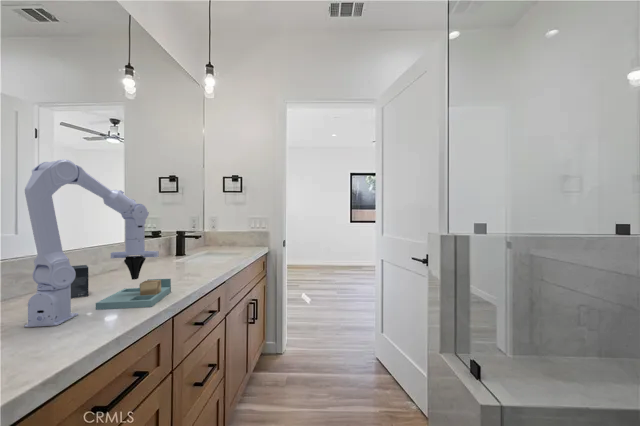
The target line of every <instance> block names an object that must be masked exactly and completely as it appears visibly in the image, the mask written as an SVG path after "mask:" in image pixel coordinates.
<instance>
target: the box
mask: <svg viewBox="0 0 640 426" xmlns="http://www.w3.org/2000/svg"><path fill="white" fill-rule="evenodd" d="M71 266H72V267H73V268H74V270H75V273H76V276H75V279H74V281H73V282H72V283H71V299H77V298H85V297H88V296H89V266H88V265H87V264H82V265H81V264H80V265H71Z"/></svg>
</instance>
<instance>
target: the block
mask: <svg viewBox="0 0 640 426" xmlns="http://www.w3.org/2000/svg"><path fill="white" fill-rule="evenodd" d="M139 288H140V295H157V294H158V293H159V292H161V280H148V279H147V280H144V281H142V282H140V283H139Z"/></svg>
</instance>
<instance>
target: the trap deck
mask: <svg viewBox="0 0 640 426" xmlns="http://www.w3.org/2000/svg"><path fill="white" fill-rule="evenodd" d="M147 280H161V292H159V293H158V294H157V295H140V287H131V288H129V287H128V288H123V289H121V290H119V291H117V292H115V293H113V294H110V295H109V296H107V297H105V298H103V299H101V300H99V301H97V302H95V310H98V311H99V310H115V309H116V310H117V309H134V308H137V309H138V308H152V307H153V306H155V305H156V304H157V303H159V302H160V301H162V300H163V299H164V298H165V297H166V296H168V295H169V294H170V293H171V292H172V281H171V280H172V278H153V279H150V278H149V279H147Z"/></svg>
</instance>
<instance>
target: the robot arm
mask: <svg viewBox="0 0 640 426" xmlns="http://www.w3.org/2000/svg"><path fill="white" fill-rule="evenodd" d="M65 185H77V186H80V187H81V188H83V189H85V190H87V191H89V192H91V193H92V194H94V195H96V196H98V197H100V198H102V201H103V203H104V204H103V205H105V206H107V207H108V208H110V209H112V210H113V211H115V212H117V213H118V214H120V215H121V218H122V219H123V220H124V222H125V227H124V229H125V234H124V235H125V239H124V240H125V243H124V245H125V248H124V249H125V250H124V251H112V252H110V259H123V262H124V264H125V265H126V267H127V269H128V271H129V274H130V277H131V280H134V281H135V280H138V279H139V277H140V272H141V270H142V267H143V265H144V262H145V261H146V258H158V257H159V255H160V253H159V250H145V249H146V248H145V247H146V246H145V243H146V241H145V240H146V239H145V236H146V235H145V232H146V231H145V224H146V220H147V218H148V217H149V214H150V213H149V212H150V211H148V209H147V207H146V205H144V204H142V203H137V202H136V200H135V199H133V198H130V197H128V196H127V195H126V194H125V192H124V191H122V190H117V189H112V190H111V189H110V188H108V187H107V186H106V185H104V184H103V183H101V182H100V181H98V180H97V179H96V178H95V177H93V176H92V175H90V174H89V173H88V172H86V170H85V169H84V168H83V167H82V166H79V165H77V164H75V163H74V162H73V161H71V160H69V159H65V158H64V159H63V158H62V159H58V160H54V161H43V162H41V163H39V164H38V165H36V167H34V168H33V169H31V175H30V177H29V180H28V181H27V183H26V186H25V187H24V195H25V200H26V205H27V208H28V209H27V211H28V214H29V220H30V224H31V229H32V235H33V238H34V243H35V249H36V253H37V254H36V255H37V256H36V257H35V259H34V261H33V264H34V268H33V272H32V279H33V281H34V282H35V283H36V284H37V286H36V292H35V293H34V294H33V295H32V296H30V298H29V300H28V301H27V302H28V303H27V323H26V324H24V326H23V327H24V328H34V327H50V326H59V325H60V324H61V325H62V324H63V323H65V322H67V321H69V320H71V319H72V318H74V317H76V316H78V315H79V313H78V312H72V303H71V300H72V298H71V283H72V282H73V281H74V279H75V276H76V273H75V270H74V268H73V267H72V266H73V265H71V263H70V259H69V258H68V256H67V254H65V252H64V251H63V246H62V240H61V235H60V231H59V226H58V220H57V217H56V215H57V214H56V210H55V205H54V201H53V195H54V194H55V193H56V192H57V191H58V190H59V189H60V188H62V187H63V186H65Z"/></svg>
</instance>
